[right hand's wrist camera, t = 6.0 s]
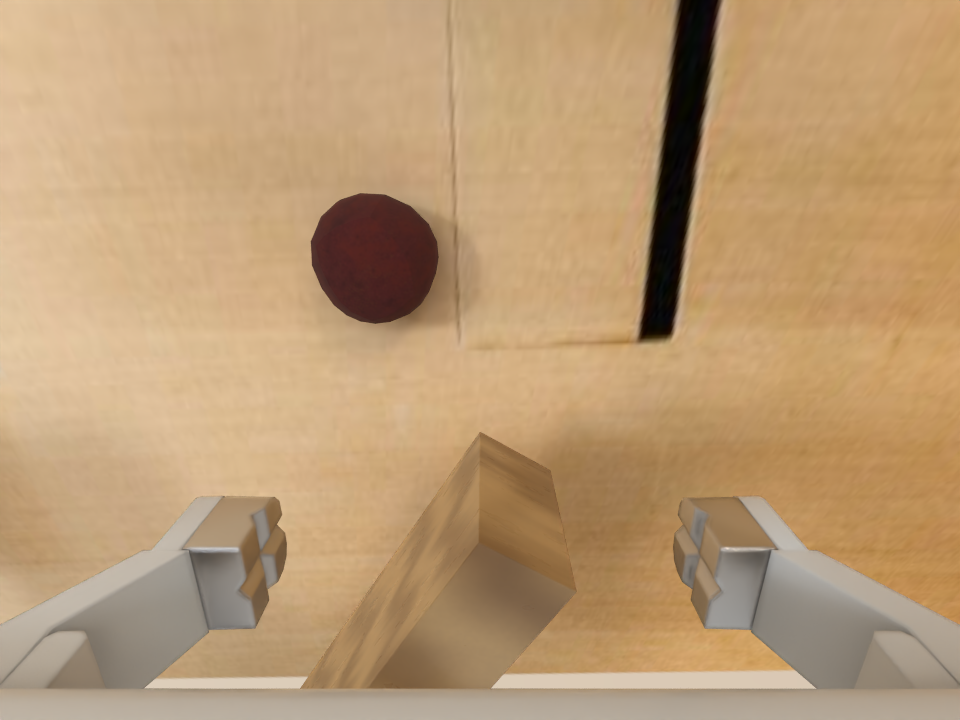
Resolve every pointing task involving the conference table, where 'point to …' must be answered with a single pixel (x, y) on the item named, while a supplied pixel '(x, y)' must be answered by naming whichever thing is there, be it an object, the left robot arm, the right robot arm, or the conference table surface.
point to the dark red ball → (374, 257)
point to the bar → (460, 583)
